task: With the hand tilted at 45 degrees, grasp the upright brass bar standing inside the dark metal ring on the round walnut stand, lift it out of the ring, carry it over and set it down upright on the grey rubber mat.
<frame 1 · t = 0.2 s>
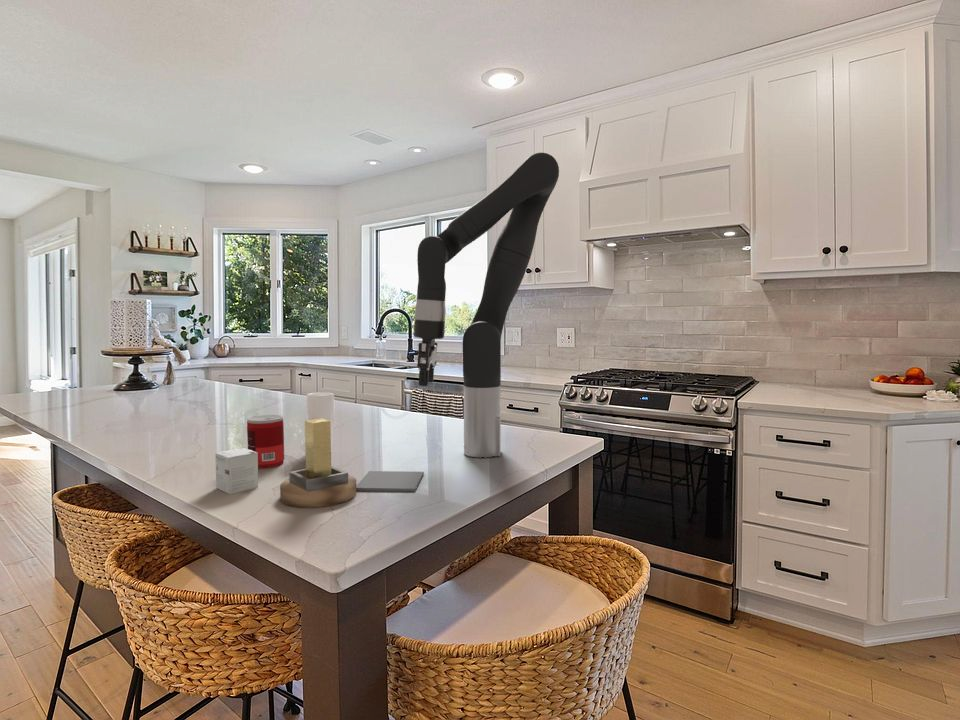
hand: (426, 383, 136), 18 cm above the kitchen island, tool pointing down, fingers open, 8 cm apart
drinking glass: (321, 452, 139), on the kitchen island
mat: (390, 482, 113), on the kitchen island
canned food: (266, 465, 128), on the kitchen island
skincare box: (237, 489, 110), on the kitchen island
ring stand: (319, 495, 105), on the kitchen island
brass bar: (318, 482, 105), point 2 cm above the kitchen island, touching ring stand
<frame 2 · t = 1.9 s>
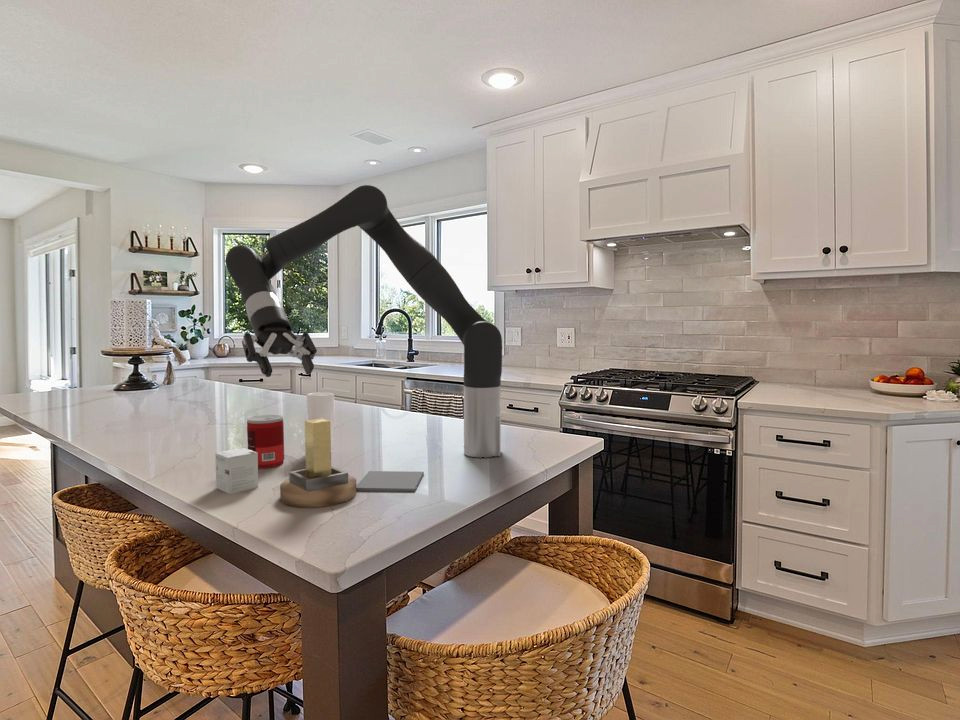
hand: (290, 373, 112), 23 cm above the kitchen island, tool tilted 45°, fingers open, 8 cm apart
nothing on the kitchen island moved.
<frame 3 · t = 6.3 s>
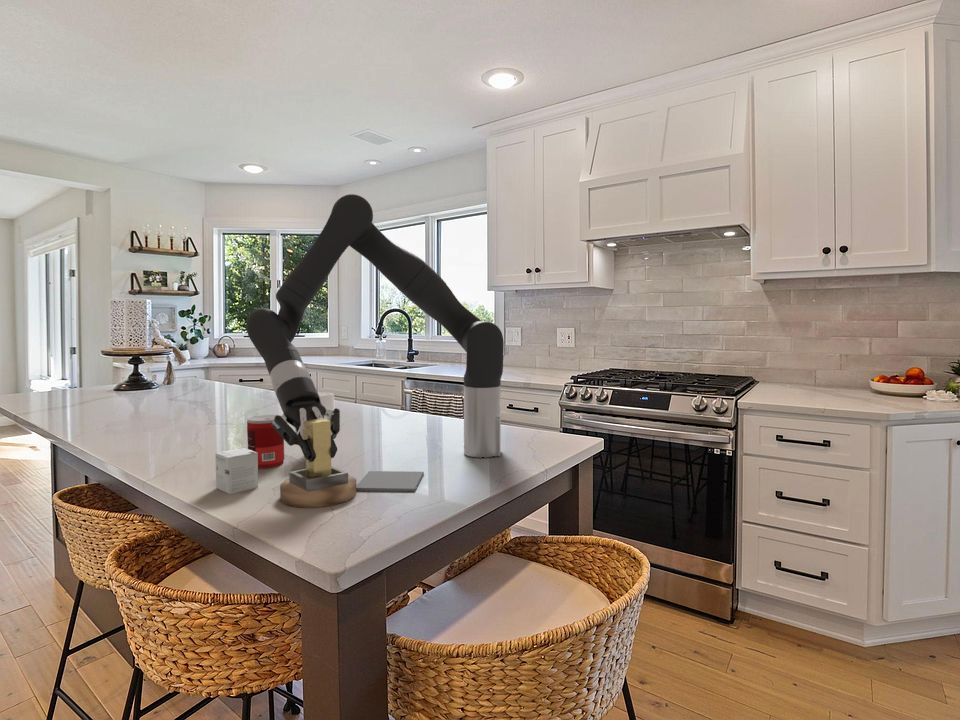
hand: (323, 457, 103), 8 cm above the kitchen island, tool tilted 45°, fingers closed on brass bar, 3 cm apart
brass bar: (318, 482, 105), point 3 cm above the kitchen island, touching gripper, ring stand
everything else where it was.
when the fingers open (8 cm above the kitchen island, at t = 12.0 s): brass bar drops 2 cm, resting on mat.
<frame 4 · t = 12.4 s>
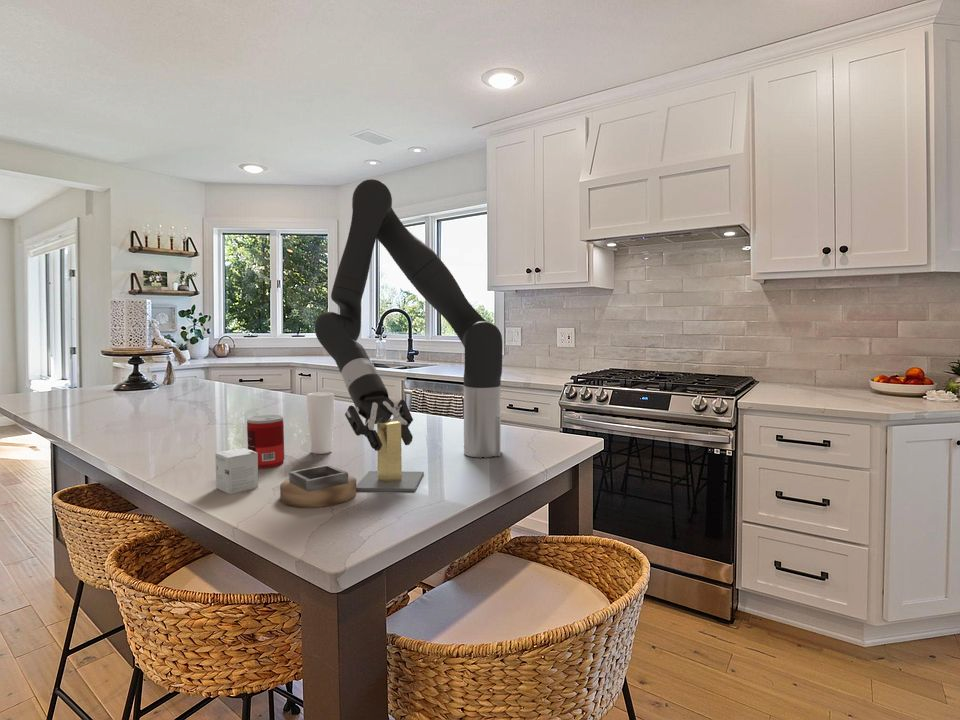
hand: (394, 445, 111), 8 cm above the kitchen island, tool tilted 45°, fingers open, 6 cm apart
brass bar: (389, 479, 113), point 1 cm above the kitchen island, touching mat
everything else where it was.
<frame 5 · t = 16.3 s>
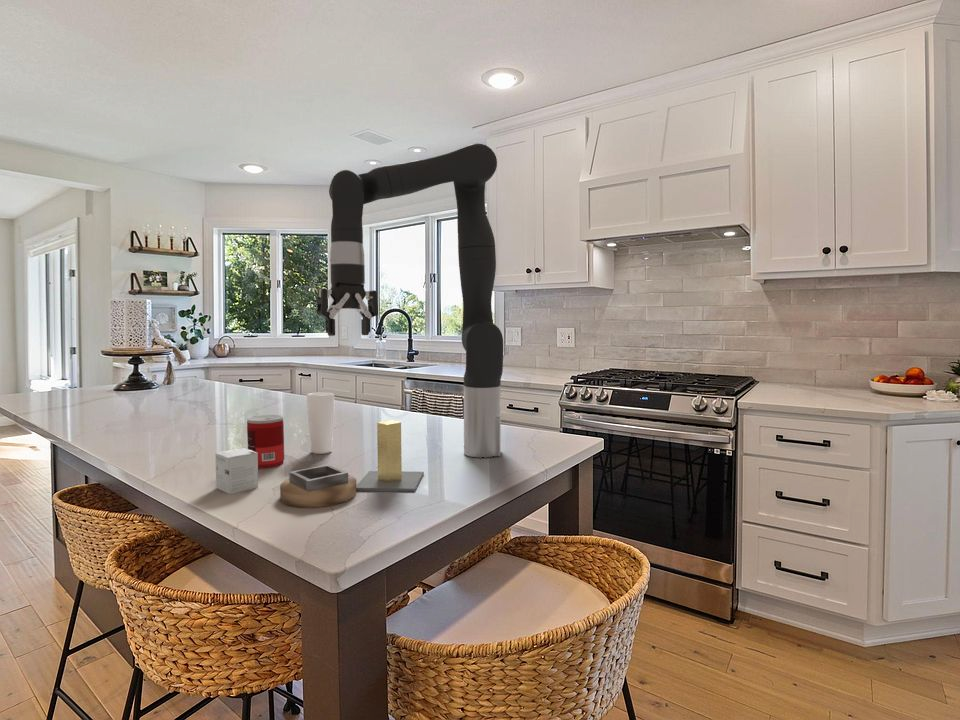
hand: (348, 335, 124), 30 cm above the kitchen island, tool pointing down, fingers open, 8 cm apart
nothing on the kitchen island moved.
at the end: brass bar inside the target area on the mat (0.2 cm from its centre), point 0.6 cm above the mat's base; brass bar tilted 0°; the gripper is holding nothing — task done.
